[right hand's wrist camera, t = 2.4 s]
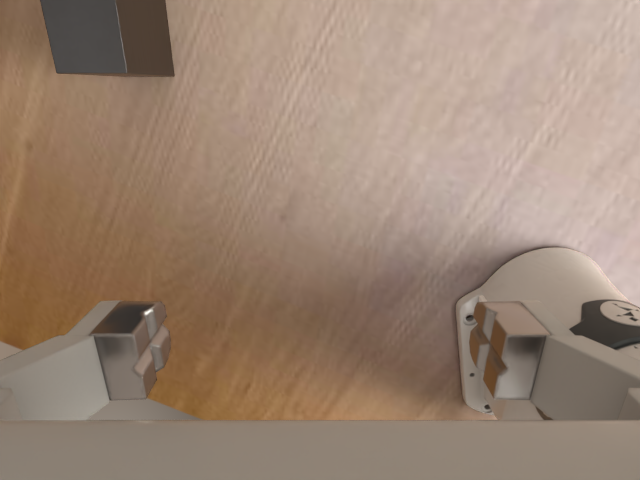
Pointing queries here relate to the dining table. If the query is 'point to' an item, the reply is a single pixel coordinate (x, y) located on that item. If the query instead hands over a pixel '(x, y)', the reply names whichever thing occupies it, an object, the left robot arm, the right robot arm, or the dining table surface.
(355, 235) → the dining table surface
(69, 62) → the bar
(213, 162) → the dining table surface
